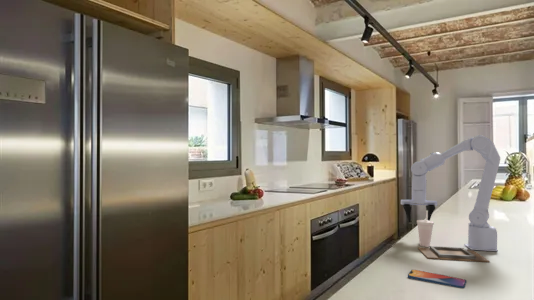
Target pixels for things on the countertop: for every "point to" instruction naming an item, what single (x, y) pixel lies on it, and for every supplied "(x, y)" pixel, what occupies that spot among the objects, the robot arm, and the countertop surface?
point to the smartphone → (437, 278)
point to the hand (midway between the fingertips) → (418, 222)
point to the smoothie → (425, 231)
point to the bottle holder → (452, 254)
